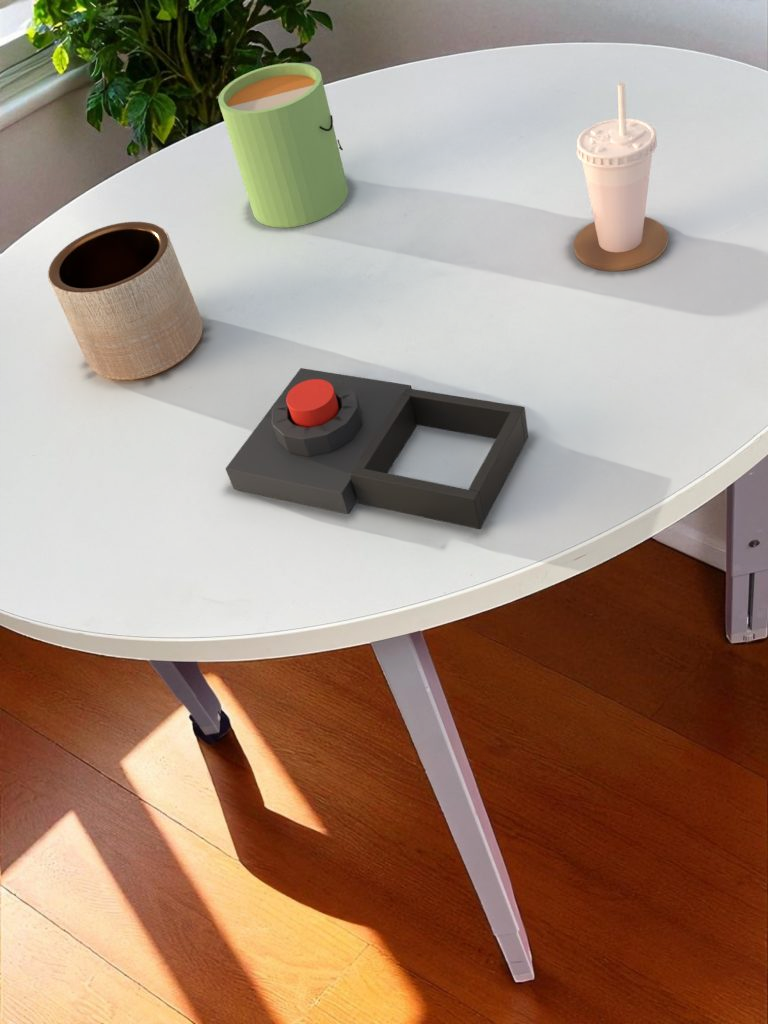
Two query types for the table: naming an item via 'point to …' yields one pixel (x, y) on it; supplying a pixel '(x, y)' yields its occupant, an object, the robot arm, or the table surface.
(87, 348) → the planter
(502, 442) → the frame
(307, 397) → the stop button
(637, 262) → the coaster
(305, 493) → the button base
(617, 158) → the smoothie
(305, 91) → the mug
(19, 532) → the table surface
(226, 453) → the table surface
